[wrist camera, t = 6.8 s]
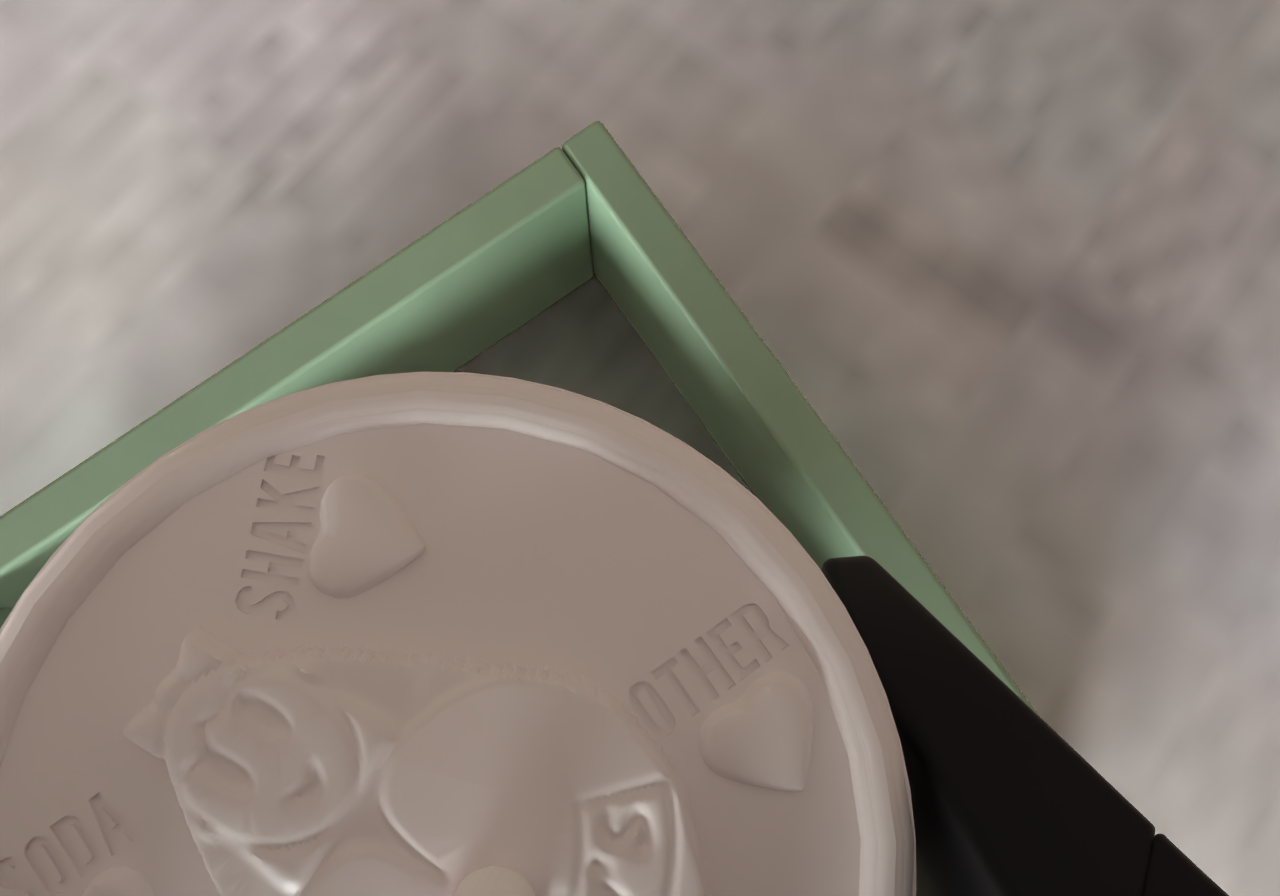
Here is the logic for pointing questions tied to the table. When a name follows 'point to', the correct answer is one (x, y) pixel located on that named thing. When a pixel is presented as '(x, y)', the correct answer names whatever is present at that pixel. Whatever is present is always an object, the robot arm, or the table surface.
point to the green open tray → (499, 304)
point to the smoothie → (442, 669)
